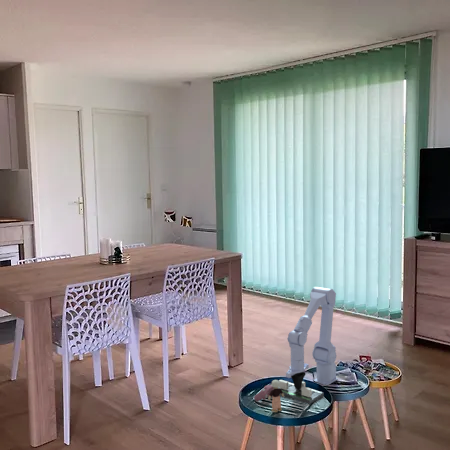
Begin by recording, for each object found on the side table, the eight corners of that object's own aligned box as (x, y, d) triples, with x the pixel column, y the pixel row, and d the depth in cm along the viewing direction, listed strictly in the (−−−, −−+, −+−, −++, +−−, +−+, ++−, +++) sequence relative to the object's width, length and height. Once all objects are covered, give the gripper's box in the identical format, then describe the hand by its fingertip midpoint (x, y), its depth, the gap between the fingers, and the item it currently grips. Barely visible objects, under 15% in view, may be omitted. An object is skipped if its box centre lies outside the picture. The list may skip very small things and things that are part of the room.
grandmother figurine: (278, 406, 211) (278, 376, 210) (285, 409, 208) (285, 378, 207) (265, 411, 206) (265, 381, 205) (272, 414, 203) (272, 384, 202)
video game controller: (260, 406, 215) (266, 393, 213) (252, 399, 218) (258, 386, 215) (272, 398, 223) (278, 385, 221) (264, 391, 226) (270, 379, 223)
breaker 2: (303, 393, 219) (303, 386, 218) (311, 396, 216) (311, 388, 216) (301, 394, 217) (301, 387, 217) (309, 397, 215) (309, 389, 214)
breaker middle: (297, 387, 226) (297, 380, 226) (305, 389, 223) (305, 382, 223) (295, 388, 225) (295, 381, 224) (303, 390, 222) (303, 383, 222)
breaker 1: (281, 386, 227) (280, 379, 226) (288, 388, 224) (288, 381, 224) (278, 387, 226) (278, 380, 225) (286, 390, 223) (286, 382, 223)
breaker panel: (287, 385, 233) (287, 381, 233) (323, 395, 220) (323, 392, 220) (273, 392, 225) (273, 389, 225) (309, 404, 212) (309, 400, 212)
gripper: (299, 352, 229) (299, 381, 230) (279, 360, 219) (280, 391, 220) (312, 355, 224) (312, 385, 226) (293, 364, 214) (294, 395, 215)
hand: (297, 388), depth 222 cm, fingers closed
